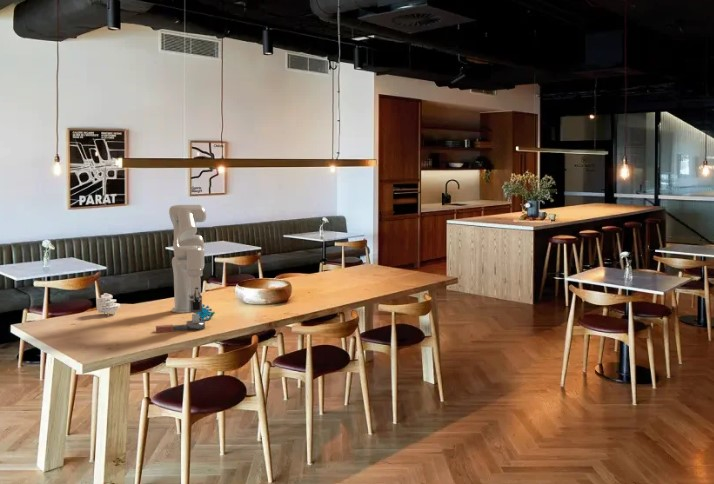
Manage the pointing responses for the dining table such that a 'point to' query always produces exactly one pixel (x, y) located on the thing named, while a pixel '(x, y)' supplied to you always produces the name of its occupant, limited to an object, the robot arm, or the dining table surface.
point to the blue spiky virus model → (205, 313)
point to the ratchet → (183, 326)
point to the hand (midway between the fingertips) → (195, 308)
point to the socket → (192, 304)
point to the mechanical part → (107, 304)
